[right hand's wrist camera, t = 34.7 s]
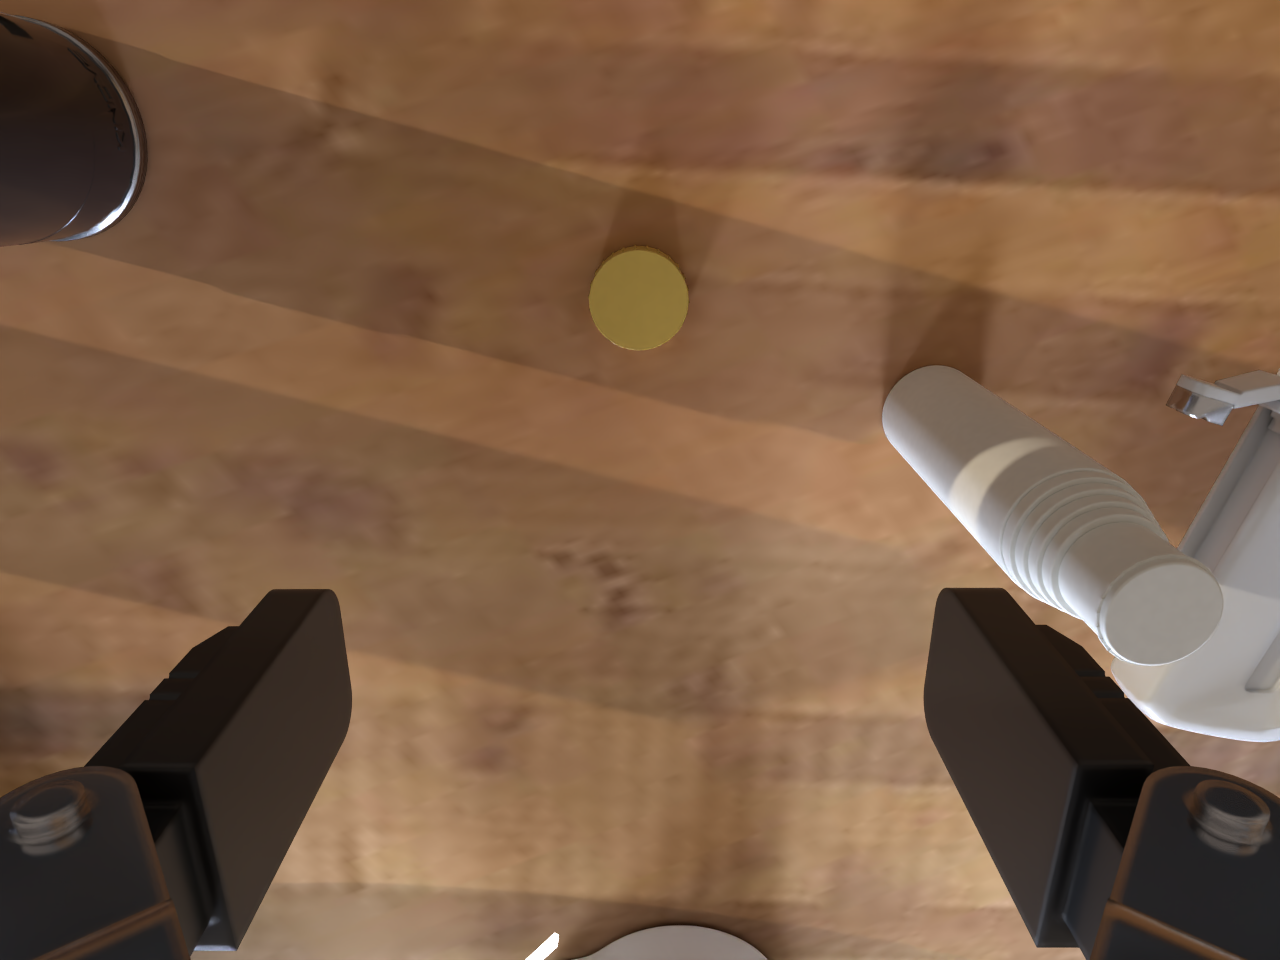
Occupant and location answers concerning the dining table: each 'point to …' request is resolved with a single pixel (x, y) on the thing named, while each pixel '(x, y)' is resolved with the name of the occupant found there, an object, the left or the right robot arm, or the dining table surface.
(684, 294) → the cap
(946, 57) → the dining table surface
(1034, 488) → the bottle
